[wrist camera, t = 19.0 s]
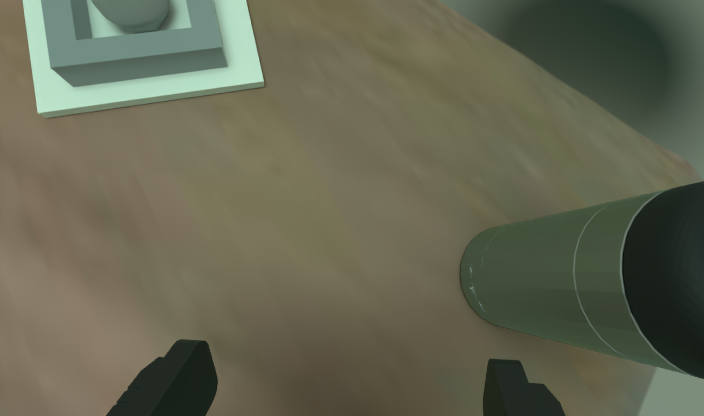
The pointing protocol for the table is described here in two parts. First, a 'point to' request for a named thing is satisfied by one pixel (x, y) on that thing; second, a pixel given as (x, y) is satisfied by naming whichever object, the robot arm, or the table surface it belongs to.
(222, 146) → the table surface
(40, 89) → the socket board
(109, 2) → the salt shaker
